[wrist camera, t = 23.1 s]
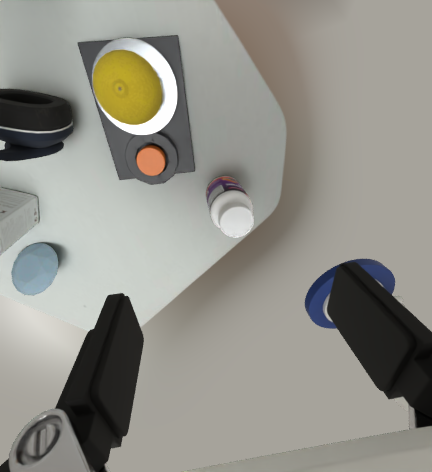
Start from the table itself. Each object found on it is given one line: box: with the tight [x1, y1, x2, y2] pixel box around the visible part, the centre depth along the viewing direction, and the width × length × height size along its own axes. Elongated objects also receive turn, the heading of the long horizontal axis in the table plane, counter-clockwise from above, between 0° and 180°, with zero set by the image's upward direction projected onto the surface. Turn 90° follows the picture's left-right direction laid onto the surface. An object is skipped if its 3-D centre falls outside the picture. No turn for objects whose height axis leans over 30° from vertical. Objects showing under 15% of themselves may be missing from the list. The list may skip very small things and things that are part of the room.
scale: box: [78, 35, 195, 185], centre depth 27 cm, size 10×14×3 cm
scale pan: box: [92, 38, 178, 135], centre depth 24 cm, size 8×8×1 cm
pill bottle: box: [206, 176, 254, 238], centre depth 30 cm, size 5×5×10 cm
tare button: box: [136, 145, 166, 176], centre depth 27 cm, size 3×3×2 cm
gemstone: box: [11, 243, 58, 295], centre depth 35 cm, size 8×8×5 cm
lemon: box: [93, 49, 162, 125], centre depth 20 cm, size 6×6×8 cm
